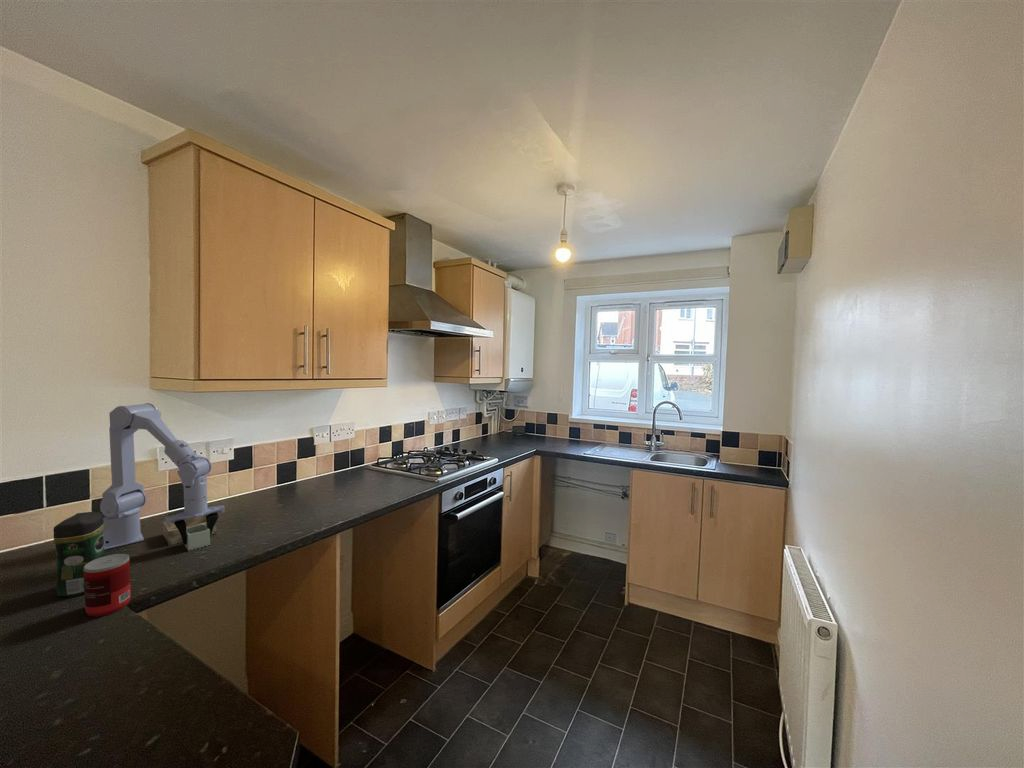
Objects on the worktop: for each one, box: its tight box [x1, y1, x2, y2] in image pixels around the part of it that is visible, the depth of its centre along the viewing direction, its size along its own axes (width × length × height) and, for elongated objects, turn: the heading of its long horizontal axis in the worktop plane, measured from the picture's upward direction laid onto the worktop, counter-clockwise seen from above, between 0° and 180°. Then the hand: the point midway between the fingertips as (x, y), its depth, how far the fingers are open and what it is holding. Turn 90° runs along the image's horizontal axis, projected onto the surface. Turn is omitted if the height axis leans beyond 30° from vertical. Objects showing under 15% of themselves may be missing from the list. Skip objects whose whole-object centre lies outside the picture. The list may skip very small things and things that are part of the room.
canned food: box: [83, 553, 132, 617], centre depth 96 cm, size 8×8×11 cm
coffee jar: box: [53, 511, 106, 597], centre depth 103 cm, size 10×8×19 cm
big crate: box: [162, 516, 217, 546], centre depth 136 cm, size 12×11×4 cm
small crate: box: [184, 524, 211, 552], centre depth 128 cm, size 5×7×5 cm
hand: (197, 540), depth 128 cm, fingers closed on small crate, 5 cm apart
